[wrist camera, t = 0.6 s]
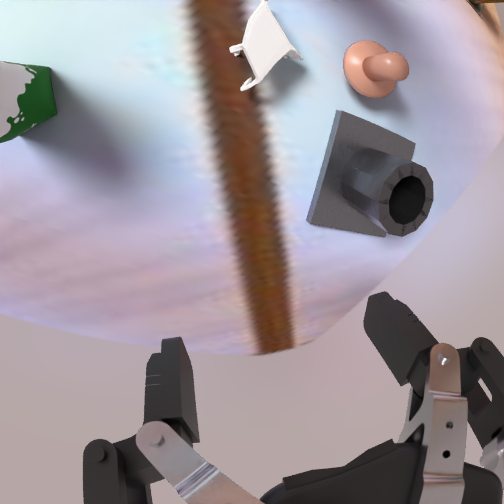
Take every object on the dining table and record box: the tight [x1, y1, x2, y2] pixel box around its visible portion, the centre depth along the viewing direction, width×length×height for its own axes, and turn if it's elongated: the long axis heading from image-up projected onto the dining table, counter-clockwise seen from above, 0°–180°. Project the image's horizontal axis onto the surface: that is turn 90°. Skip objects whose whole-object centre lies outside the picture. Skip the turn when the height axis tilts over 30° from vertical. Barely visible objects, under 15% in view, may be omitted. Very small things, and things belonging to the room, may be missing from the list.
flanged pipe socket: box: [306, 110, 433, 237], centre depth 33 cm, size 16×14×10 cm
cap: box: [343, 41, 409, 98], centre depth 27 cm, size 8×8×8 cm
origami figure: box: [229, 0, 303, 91], centre depth 25 cm, size 12×8×5 cm
